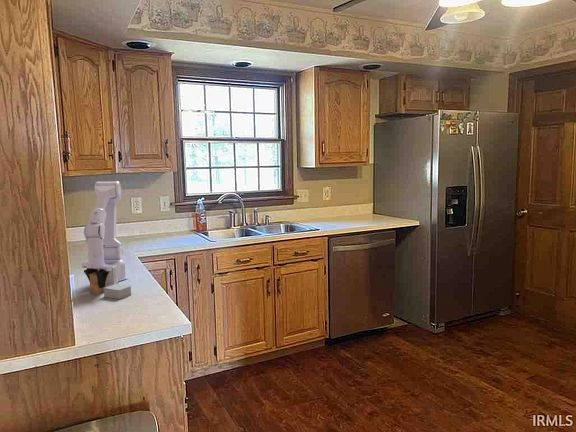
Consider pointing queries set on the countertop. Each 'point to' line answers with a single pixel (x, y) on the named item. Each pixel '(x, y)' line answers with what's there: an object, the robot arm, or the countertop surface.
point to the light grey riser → (117, 291)
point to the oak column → (95, 284)
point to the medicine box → (112, 277)
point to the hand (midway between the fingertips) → (97, 286)
